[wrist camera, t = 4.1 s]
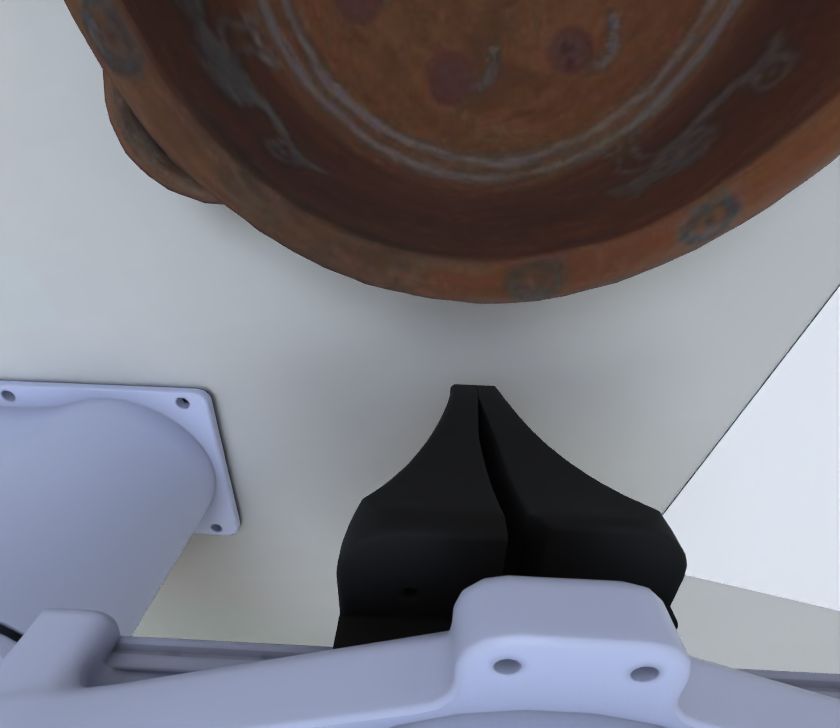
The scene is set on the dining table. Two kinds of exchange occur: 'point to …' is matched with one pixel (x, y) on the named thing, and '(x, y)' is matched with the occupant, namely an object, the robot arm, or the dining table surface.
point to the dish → (476, 127)
